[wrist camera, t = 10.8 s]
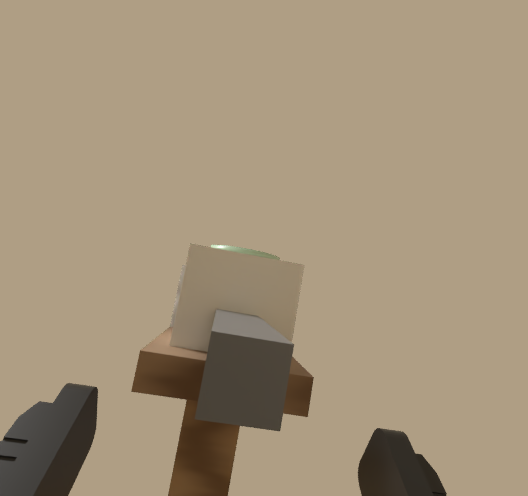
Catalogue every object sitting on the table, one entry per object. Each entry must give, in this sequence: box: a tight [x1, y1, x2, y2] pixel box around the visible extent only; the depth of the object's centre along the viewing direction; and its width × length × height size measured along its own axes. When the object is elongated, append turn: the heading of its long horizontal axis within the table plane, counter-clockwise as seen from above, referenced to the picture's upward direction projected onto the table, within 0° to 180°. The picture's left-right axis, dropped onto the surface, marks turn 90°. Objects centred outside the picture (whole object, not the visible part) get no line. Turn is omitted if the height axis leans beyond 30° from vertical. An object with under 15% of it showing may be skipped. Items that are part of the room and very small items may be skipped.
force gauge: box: [169, 244, 304, 431], centre depth 20 cm, size 7×18×6 cm, turn 6°
